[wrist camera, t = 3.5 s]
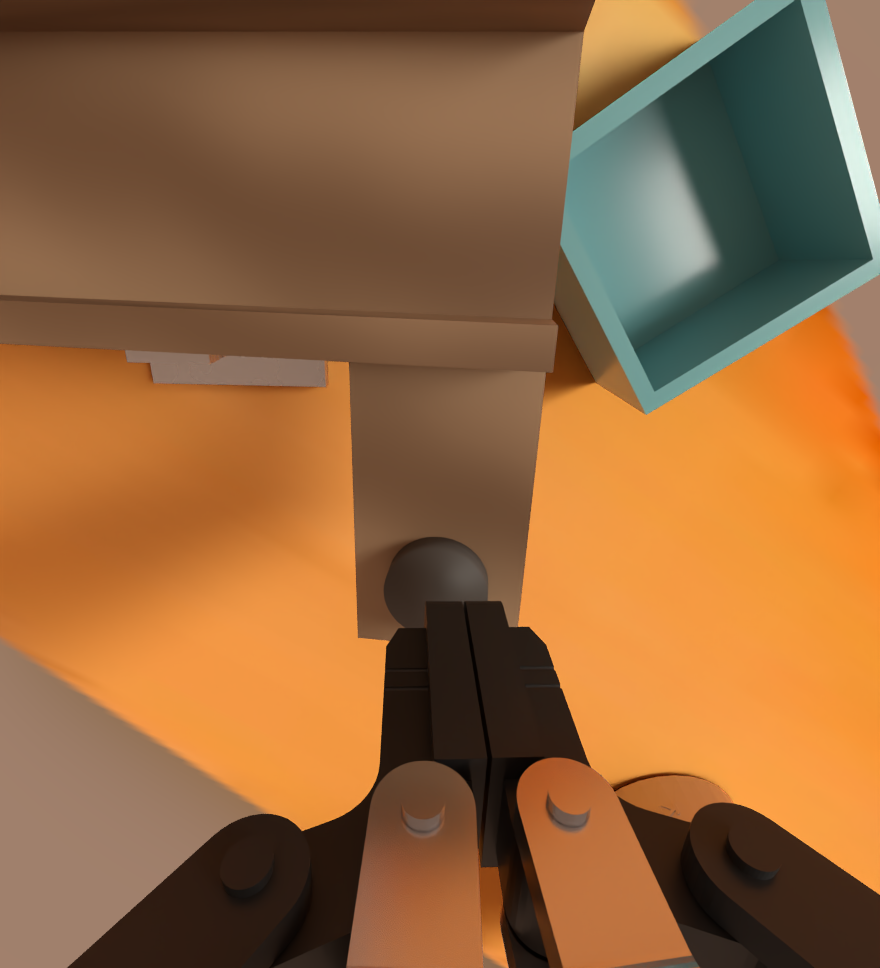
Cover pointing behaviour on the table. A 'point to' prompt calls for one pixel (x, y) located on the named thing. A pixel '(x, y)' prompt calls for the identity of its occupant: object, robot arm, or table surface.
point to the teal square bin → (716, 205)
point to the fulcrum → (231, 369)
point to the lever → (315, 233)
